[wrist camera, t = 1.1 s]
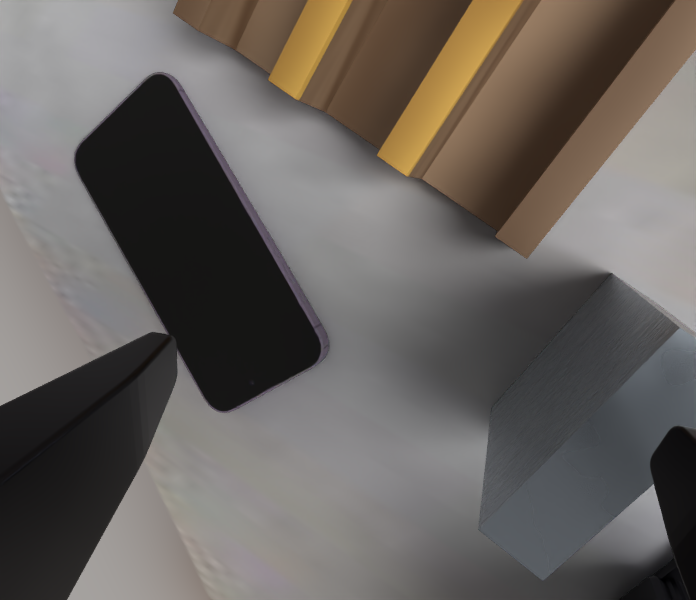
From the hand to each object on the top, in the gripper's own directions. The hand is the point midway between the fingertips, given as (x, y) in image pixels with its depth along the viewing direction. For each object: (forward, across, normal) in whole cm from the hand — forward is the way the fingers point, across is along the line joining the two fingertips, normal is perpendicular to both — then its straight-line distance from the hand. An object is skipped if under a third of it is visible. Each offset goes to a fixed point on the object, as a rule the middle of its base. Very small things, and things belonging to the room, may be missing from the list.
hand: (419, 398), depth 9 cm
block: (+9, -7, +4) cm, 12 cm away
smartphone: (+14, +9, +5) cm, 18 cm away
